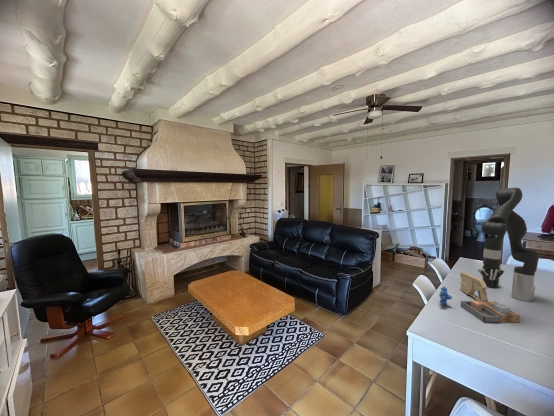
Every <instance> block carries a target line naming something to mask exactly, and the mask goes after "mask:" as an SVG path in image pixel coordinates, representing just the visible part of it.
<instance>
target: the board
mask: <svg viewBox="0 0 554 416" xmlns="http://www.w3.org/2000/svg"><path fill="white" fill-rule="evenodd" d="M478 302H479V303H481V304H482V306H484V307H485V308H487V309H489V310H490V311H492V312H493V313H495V314H497V315H498V316H500V317H501V318H500V323H520V314H518V313H516V312H514V311H513V310H511V309H510V311H509V314H506V313H499V312H498V311H496V310H494V304H499V303H498V302H496V301H488V302H486V301H478Z"/></svg>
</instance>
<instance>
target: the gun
mask: <svg viewBox="0 0 554 416" xmlns="http://www.w3.org/2000/svg"><path fill="white" fill-rule="evenodd" d="M459 278H461V281H460V288H459V290H460V291H461V292H463V293H464V294H466V295H468V296H470V297H472V298H473V299H475V301H477V302H478V301H486V302H489V301H488V300H489V299H488V293H487V289H488V287H487V286H486V284H485V282H484V281H483V279H481V278H478V277H476V276H474V275H471V274H469V273H466V272H465V271H460V273H459ZM476 291H477V294H478V296H477V295H475V293H476Z"/></svg>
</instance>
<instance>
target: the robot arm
mask: <svg viewBox="0 0 554 416" xmlns="http://www.w3.org/2000/svg"><path fill="white" fill-rule="evenodd" d="M495 198H496V201H497V204H498V207H497V208H495V209H494V210H493V211H492V214H491V216H490V217H489V218H488V219H486V220H485V221H484V222H483V223H482V224H481V226H480V229H481V231H482V233H484V234H486V235H494V236H495V237H488V238H486V239H484V246H483V254H482V255H483V256H482V264H483V266H482V268H480V269H478V272H479V274H480V275H481V276H482V278H483V277H484V278H486V279H487V285H489V286H493V285H494V280H495V279H498V278H499V279H500V277H501V276H502V275H503V274H504V273H505V270H502V269H501V267H500V266H501V265H502V243H503V240H504V238H505V235H506V233H507V236H508V240H509V248H510V252H511V253H510V254H511V257H512V259H513V260H515V261H517V262H520V263H523V265H522V266H515V267H514V268H513V278H512V288H511V297H512V298H514V299H516V300H517V301H518V300H519V301H522V302H527V303H528V302H530V303H531V302H534V298H535V290H536V286H535V275H536V272H537V270H538V269H537V268H538V263H539V260H540V259H539V257H540V256H539V253H538V251H536V250H533V249H528V248H525V247H524V246H523V242H522V240H523V239H524V237H525V236H526V234H527V231H528V228H527V224H526V220H525V219H524V218H523V217H522V216H521V215H520V214H518V213H517V212H515V211H514V209H515V208H516V207H517V206H518V205H519V204H520V202H521V201H522V199H523V192H522V189H521V188H519V187H507V188H499V189H497V190H496V191H495Z"/></svg>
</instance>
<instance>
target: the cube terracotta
mask: <svg viewBox="0 0 554 416" xmlns="http://www.w3.org/2000/svg"><path fill="white" fill-rule="evenodd" d="M470 301H471V304H470V306H471V307H472V308H474V309H475V310H477V311H478V312H482V304H481V303H479V302H477V301H476V300H470Z"/></svg>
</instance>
